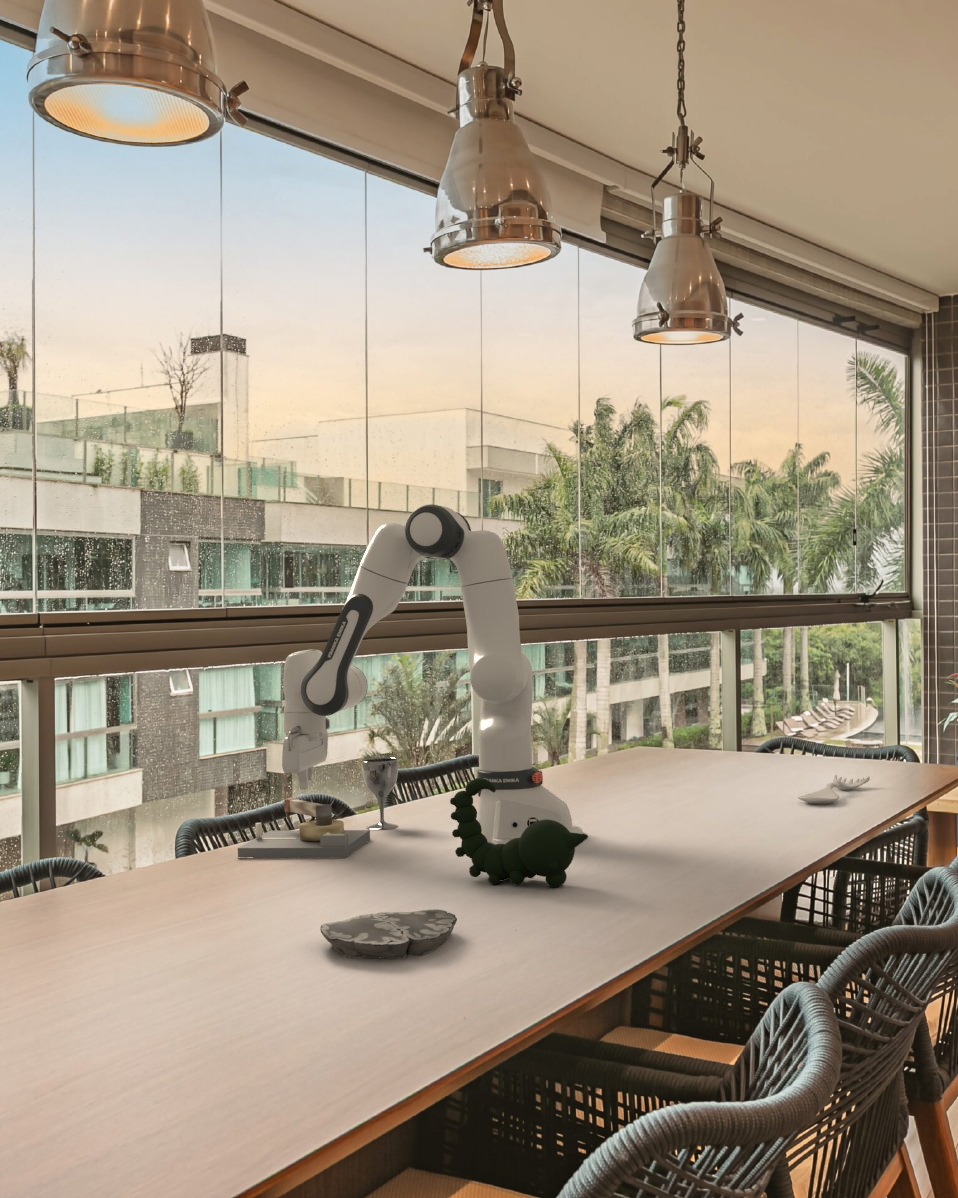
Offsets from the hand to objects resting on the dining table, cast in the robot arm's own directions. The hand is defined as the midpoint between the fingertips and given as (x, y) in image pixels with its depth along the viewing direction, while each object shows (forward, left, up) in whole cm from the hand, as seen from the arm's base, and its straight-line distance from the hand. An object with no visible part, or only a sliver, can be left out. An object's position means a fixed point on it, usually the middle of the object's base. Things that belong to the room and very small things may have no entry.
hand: (305, 788), depth 244 cm
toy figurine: (-52, +43, -10) cm, 69 cm away
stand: (-4, +14, -10) cm, 18 cm away
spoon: (-116, -45, -11) cm, 125 cm away
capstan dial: (-5, +11, -8) cm, 14 cm away
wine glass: (-14, -9, -10) cm, 20 cm away
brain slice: (-39, +80, -11) cm, 90 cm away
